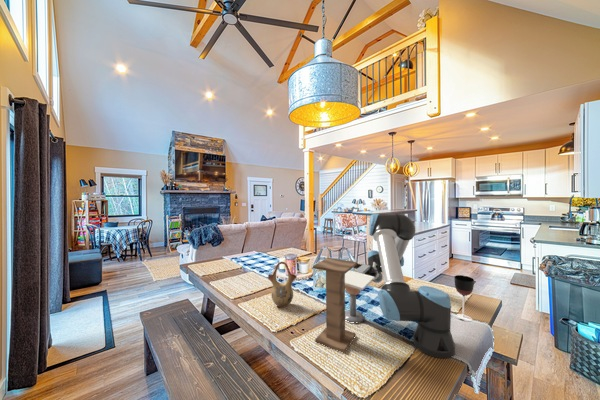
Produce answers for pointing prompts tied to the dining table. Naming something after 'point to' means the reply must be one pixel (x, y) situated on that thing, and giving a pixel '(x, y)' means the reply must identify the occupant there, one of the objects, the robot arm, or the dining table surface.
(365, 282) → the lid
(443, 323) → the robot arm
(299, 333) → the dining table surface
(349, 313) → the brown goblet
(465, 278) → the wineglass
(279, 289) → the ceramic vessel
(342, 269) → the stand
